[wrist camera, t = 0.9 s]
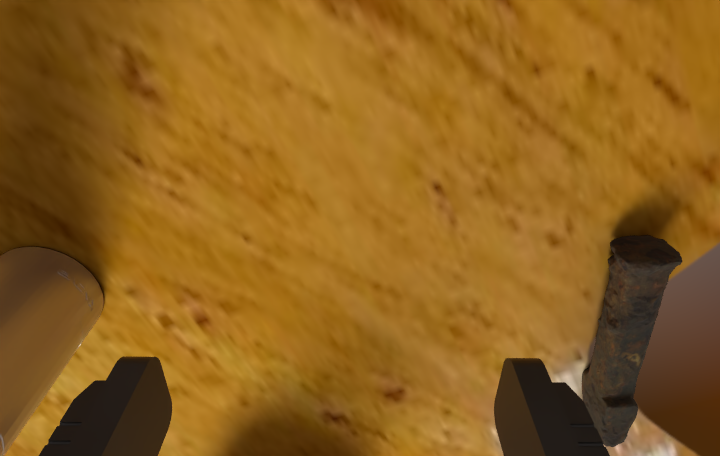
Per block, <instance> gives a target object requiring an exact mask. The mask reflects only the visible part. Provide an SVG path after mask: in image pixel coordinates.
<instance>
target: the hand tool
mask: <svg viewBox="0 0 720 456" xmlns="http://www.w3.org/2000/svg"><path fill="white" fill-rule="evenodd" d="M610 246H611V250H612V251H613V252H614V255H612V256H611V257H610V258H609V259H608V263H609V270H610V277H609V283H608V286H607V289H606V293H605V298H604V308H603V311H602V315H601V318H600V319H599V320H598V321H599V327H598V332H597V335H596V343H595V348H594V352H593V356H592V360H591V364H590V368H588V369H586V370H585V371H584V372H583V374H582V394H583V402H584V403H585V405H586V408H587V410H588V412H589V414H590V416H591V418H592V420H593V422H594V427H595V428H597V430H598V432H599V434H600V436H601V439H602V441H603V444H604V445H605V446H611V447H614V446H616V445H618V444H620V443H622V442H624V440H625V439H626V437H627V433H628V431H629V428H630V427H631V425H632V423H633V422H634V420H635V418H636V415H637V411H638V406H637V403H636V402H635V400H634V399H633V396H634V392H635V387H636V386H635V385H636V381H637V377H638V374H639V370H640V368H641V366H642V363H643V360H644V357H645V353H646V349H647V346H648V344H649V340H650V337H651V333H652V331H653V327H654V324H655V320H656V318H657V315H658V310H659V307H660V304H661V300H662V296H663V292H664V289H665V287H666V285H667V282H668V278H669V275H670V274H671V272H672V271H673V269H675V267H676V266H678V265H680V264H681V263H682V257H681V256H680V253H679V252H678V251H676V250H675V249H674V248H673V247H671V246H670V245H669V244H667V242H666V241H665V240H663V239H657V238H655V237H652V236H649V235H645V236H626V237H620V238H617V239H614V240H612V241H611V242H610Z"/></svg>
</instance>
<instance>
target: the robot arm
mask: <svg viewBox="0 0 720 456" xmlns="http://www.w3.org/2000/svg"><path fill="white" fill-rule="evenodd" d="M103 304H104V300H103V293H102V290H101V288H100V286H99V283H98V282H97V281H96V279H95V278H94V276H93V275H92V274H91V273H90V272H89V271H88V270H87V269H86V268H85V267H84V266H83V265H81V264H80V263H79V262H77V261H76V260H74V259H73V258H71V257H69V256H67V255H65V254H63V253H60V252H57V251H54V250H51V249H46V248H40V247H22V248H17V249H13V250H10V251H8V252H6V253H4V254H3V255H1V256H0V456H4V455H5V454H6V452H7V451H8V449H9V448H10V446H11V445H12V443H13V442H14V440H15V439H16V438H17V436H18V435H19V433H20V432H21V430H22V429H23V427H24V426H25V424H26V423H27V422H28V420H29V419H30V417H31V416H32V414H33V413H34V411H35V410H36V408H37V407H38V406H39V404H40V403H41V401H42V400H43V398H44V397H45V395H46V394H47V392H48V391H49V390H50V388H51V387H52V385H53V384H54V382H55V381H56V379H57V378H58V376H59V375H60V373H61V372H62V371H63V369H64V368H65V366H66V365H67V363H68V362H69V360H70V359H71V357H72V356H73V355H74V353H75V352H76V350H77V349H78V348H79V346H80V345H81V343H82V342H83V340H84V339H85V337H86V336H87V334H88V333H89V331H90V330H91V329H92V327H93V326H94V324H95V323H96V321H97V320H98V318H99V317H100V315H101V312H102V310H103ZM171 415H172V401H171V397H170V394H169V390H168V387H167V383H166V380H165V376H164V373H163V370H162V366H161V363H160V360H159V359H158V358H157V357H121V358H120V359H119V360H118V361H117V363H116V364H115V366H114V367H113V369H112V371H111V373H110V374H109V376H108V378H107V380H106V381H94V382H93V383H92V384H91V385H89V386H88V387H87V388H86V389H85V390H84V391H83V392H82V393H81V394H79V395H78V396H77V397H76V398H75V399H74V400H73V402H72V403H71V405H70V407H69V408H68V410H67V411H66V413H65V415H64V416H63V418H62V419H61V421H60V425H59V426H57V427H56V429H55V431H54V432H53V434H52V435H51V437H50V439H49V440H48V441H49V443H48V445H45V447H44V448H43V450H42V451H41V453H40V455H39V456H158V454H159V451H160V448H161V446H162V443H163V441H164V438H165V436H166V433H167V431H168V428H169V425H170V421H171ZM494 416H495V424H496V429H497V433H498V436H499V440H500V443H501V447H502V450H503V454H504V456H610V455H609V453H608V451H607V449H606V447H604V446H603V441H602V439H601V436H600V434H599V432H598V430H597V428H595V427H594V422H593V420H592V418H591V416H590V414H589V412H588V410H587V408H586V405H585V403H584V402H583V401H582V399H581V398H580V397H579V396H578V395H577V394H576V393H575V392H574V391H573V390H572V389H571V388H570V387H569V386H568V385H567V384H566V383H552V381H551V379H550V377H549V375H548V372H547V370H546V368H545V365H544V363H543V362H542V361H541V360H540V359H537V358H507V359H505V361H504V364H503V368H502V372H501V377H500V381H499V385H498V389H497V394H496V398H495V404H494Z"/></svg>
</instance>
